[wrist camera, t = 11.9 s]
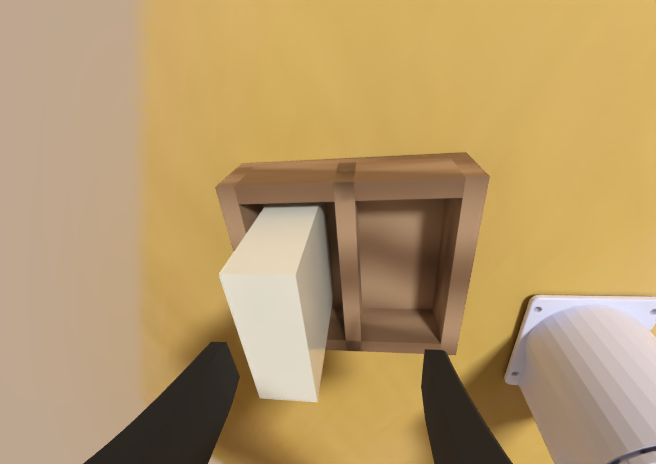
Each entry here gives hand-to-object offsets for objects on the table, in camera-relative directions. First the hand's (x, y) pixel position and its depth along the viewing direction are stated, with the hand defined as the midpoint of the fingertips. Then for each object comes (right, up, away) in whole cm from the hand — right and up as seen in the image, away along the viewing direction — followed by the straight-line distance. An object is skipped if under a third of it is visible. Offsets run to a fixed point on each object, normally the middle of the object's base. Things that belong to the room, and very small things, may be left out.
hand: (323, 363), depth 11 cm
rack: (+2, +4, +10) cm, 10 cm away
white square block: (-1, +4, +9) cm, 10 cm away
